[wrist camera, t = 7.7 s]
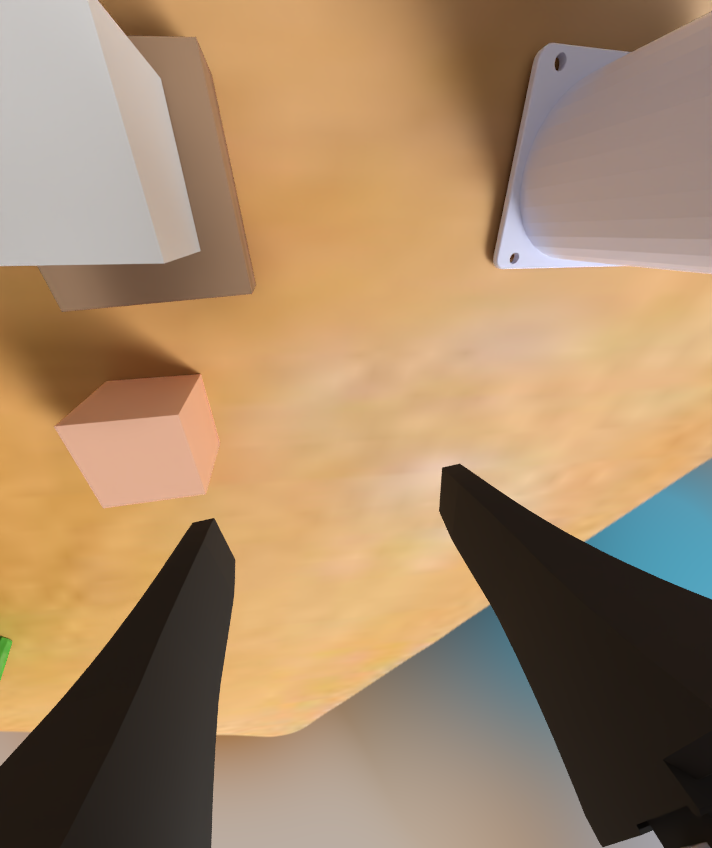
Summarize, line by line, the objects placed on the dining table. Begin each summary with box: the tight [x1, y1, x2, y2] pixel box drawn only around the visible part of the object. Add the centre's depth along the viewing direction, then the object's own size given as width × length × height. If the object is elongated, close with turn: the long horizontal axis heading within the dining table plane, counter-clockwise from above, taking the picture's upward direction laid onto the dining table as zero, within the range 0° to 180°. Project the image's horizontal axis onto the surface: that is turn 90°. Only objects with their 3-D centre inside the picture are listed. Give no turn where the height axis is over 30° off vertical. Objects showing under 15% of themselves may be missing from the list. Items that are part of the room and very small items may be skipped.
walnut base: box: [38, 36, 256, 312], centre depth 12 cm, size 7×7×3 cm
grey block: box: [0, 0, 201, 266], centre depth 8 cm, size 4×4×4 cm
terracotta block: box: [54, 374, 220, 508], centre depth 16 cm, size 4×4×4 cm
